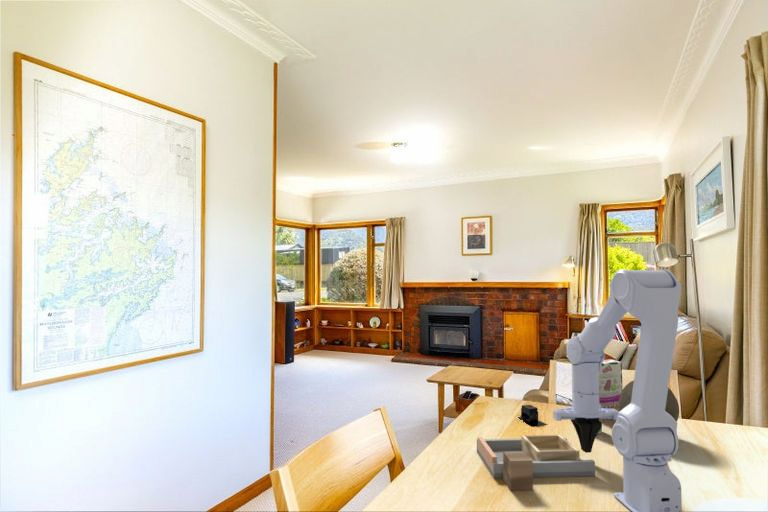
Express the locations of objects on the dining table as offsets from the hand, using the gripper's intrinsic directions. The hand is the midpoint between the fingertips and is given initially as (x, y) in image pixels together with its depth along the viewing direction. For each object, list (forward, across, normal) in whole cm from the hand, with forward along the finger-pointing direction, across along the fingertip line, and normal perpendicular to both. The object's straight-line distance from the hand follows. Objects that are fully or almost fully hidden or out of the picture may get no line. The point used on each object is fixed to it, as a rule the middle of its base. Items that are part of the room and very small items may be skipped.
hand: (586, 450), depth 101 cm
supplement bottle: (+3, -11, -19) cm, 22 cm away
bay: (+2, +13, 0) cm, 13 cm away
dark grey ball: (+3, -24, -14) cm, 28 cm away
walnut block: (+2, +20, +10) cm, 22 cm away
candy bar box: (+3, -21, -31) cm, 38 cm away
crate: (+1, +9, 0) cm, 9 cm away
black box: (+3, +2, -28) cm, 28 cm away
